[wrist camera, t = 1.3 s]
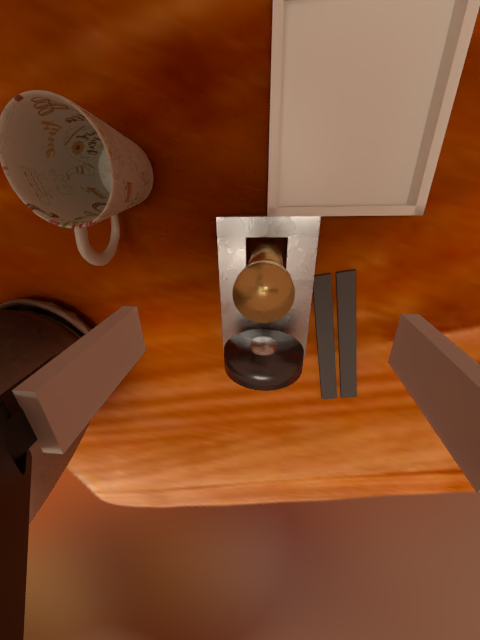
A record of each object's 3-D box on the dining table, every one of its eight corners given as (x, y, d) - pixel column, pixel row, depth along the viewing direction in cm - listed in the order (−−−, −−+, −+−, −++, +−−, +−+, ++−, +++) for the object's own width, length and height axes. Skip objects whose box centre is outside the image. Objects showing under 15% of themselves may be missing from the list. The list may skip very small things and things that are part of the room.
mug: (164, 129, 25) (106, 97, 16) (165, 259, 31) (122, 288, 22) (81, 119, 25) (-22, 81, 17) (97, 249, 31) (27, 273, 22)
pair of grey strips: (311, 275, 30) (312, 276, 29) (354, 269, 29) (355, 270, 29) (321, 397, 37) (322, 399, 37) (355, 394, 37) (356, 396, 36)
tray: (273, -8, 20) (273, -32, 18) (469, -28, 19) (496, -56, 17) (267, 214, 27) (267, 216, 25) (410, 212, 26) (422, 215, 24)
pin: (247, 233, 29) (231, 264, 17) (286, 233, 28) (297, 264, 17) (247, 271, 30) (233, 321, 19) (284, 271, 30) (292, 324, 18)
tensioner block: (220, 214, 28) (192, 229, 18) (316, 213, 27) (342, 228, 17) (226, 343, 35) (209, 403, 25) (302, 346, 34) (315, 410, 24)
